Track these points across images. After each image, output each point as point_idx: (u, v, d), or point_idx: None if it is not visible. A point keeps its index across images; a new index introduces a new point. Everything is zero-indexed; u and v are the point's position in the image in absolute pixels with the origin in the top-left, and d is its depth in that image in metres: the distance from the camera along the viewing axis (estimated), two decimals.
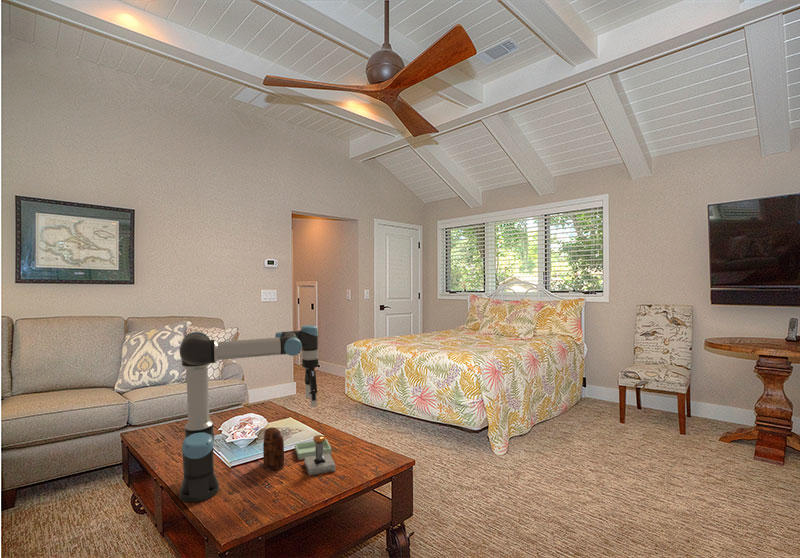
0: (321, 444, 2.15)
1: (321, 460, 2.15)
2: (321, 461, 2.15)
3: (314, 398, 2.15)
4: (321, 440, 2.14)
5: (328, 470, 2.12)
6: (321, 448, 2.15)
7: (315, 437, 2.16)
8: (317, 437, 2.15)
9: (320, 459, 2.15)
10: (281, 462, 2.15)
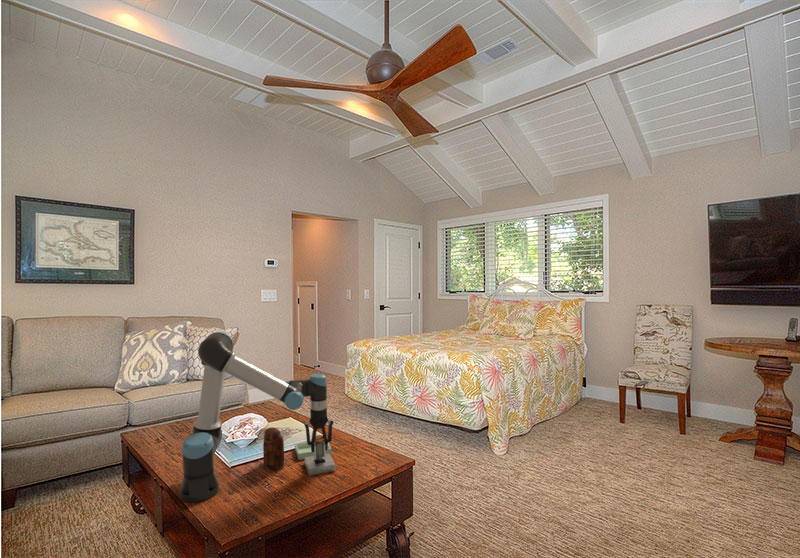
0: (321, 444, 2.15)
1: (321, 460, 2.15)
2: (321, 461, 2.15)
3: (311, 449, 2.15)
4: (321, 440, 2.14)
5: (328, 470, 2.12)
6: (321, 448, 2.15)
7: None
8: (317, 437, 2.15)
9: (320, 459, 2.15)
10: (281, 462, 2.15)
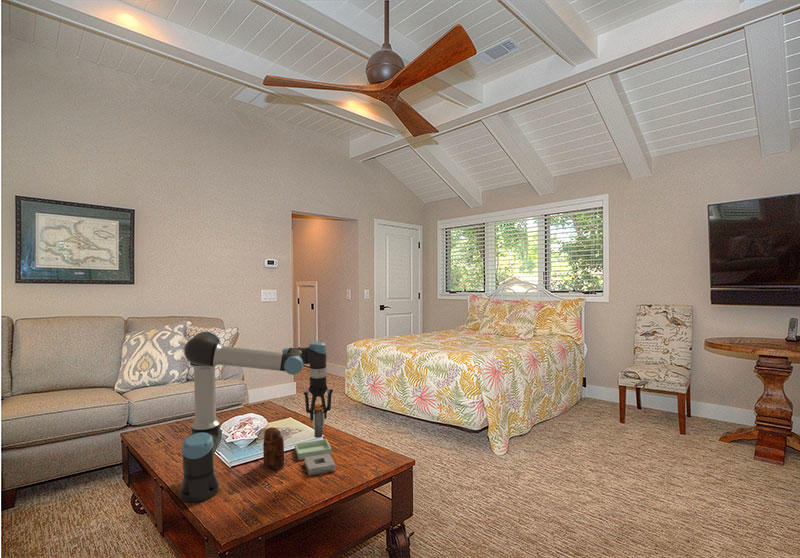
0: (320, 413, 2.14)
1: (320, 429, 2.14)
2: (320, 430, 2.14)
3: (310, 418, 2.13)
4: (320, 408, 2.13)
5: (328, 470, 2.12)
6: (320, 417, 2.14)
7: None
8: (316, 406, 2.14)
9: (319, 428, 2.14)
10: (281, 462, 2.15)
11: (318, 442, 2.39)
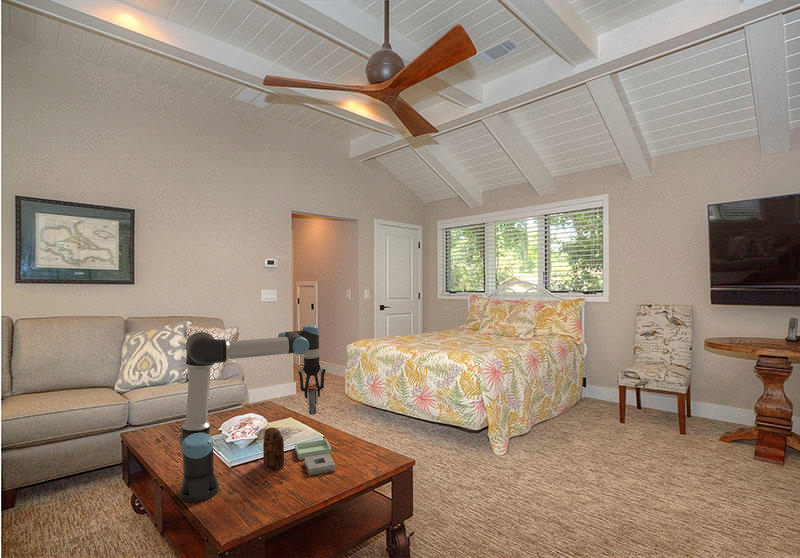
0: (314, 391, 2.29)
1: (314, 406, 2.29)
2: (314, 407, 2.29)
3: None
4: (314, 387, 2.27)
5: (328, 470, 2.12)
6: (314, 395, 2.29)
7: (308, 385, 2.30)
8: (310, 385, 2.29)
9: (313, 406, 2.29)
10: (281, 462, 2.15)
11: (318, 442, 2.39)
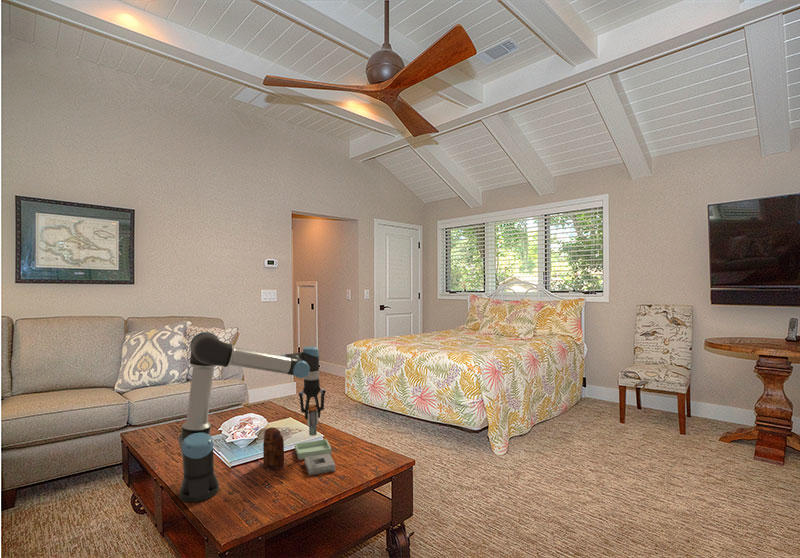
0: (314, 412, 2.30)
1: (314, 427, 2.30)
2: (314, 428, 2.30)
3: (305, 417, 2.30)
4: (314, 408, 2.29)
5: (328, 470, 2.12)
6: (314, 416, 2.30)
7: None
8: (310, 406, 2.31)
9: (313, 427, 2.30)
10: (281, 462, 2.15)
11: (318, 442, 2.39)
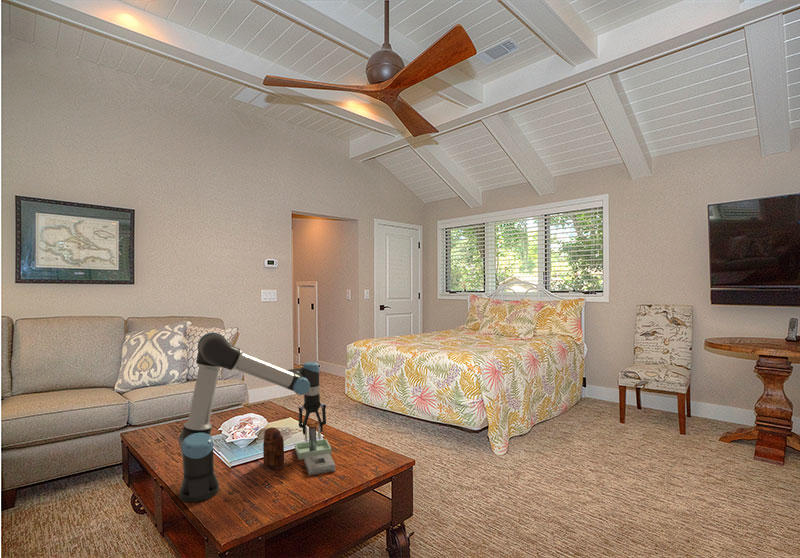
0: (314, 429, 2.31)
1: (314, 444, 2.31)
2: (314, 445, 2.31)
3: None
4: (314, 425, 2.29)
5: (328, 470, 2.12)
6: (314, 433, 2.31)
7: (308, 422, 2.32)
8: (310, 423, 2.31)
9: (313, 443, 2.31)
10: (281, 462, 2.15)
11: (318, 442, 2.39)
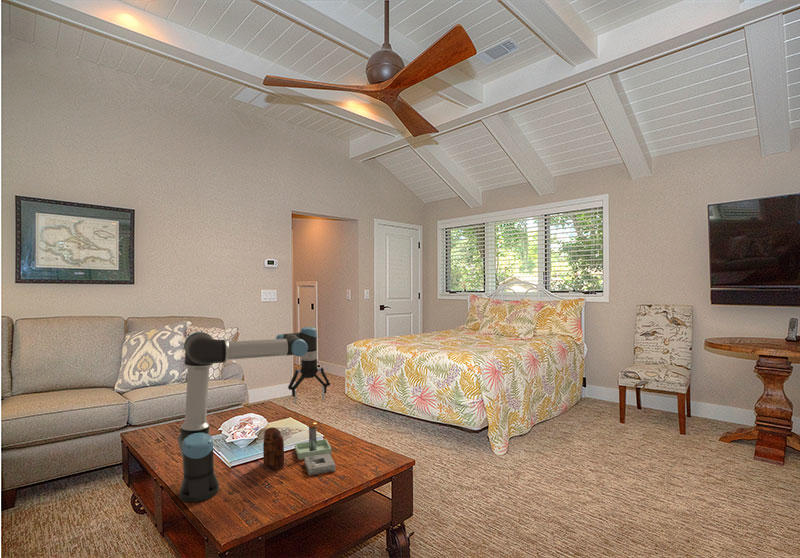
0: (314, 429, 2.31)
1: (314, 444, 2.31)
2: (314, 445, 2.31)
3: (292, 394, 2.28)
4: (314, 425, 2.29)
5: (328, 470, 2.12)
6: (314, 433, 2.31)
7: (308, 422, 2.32)
8: (310, 423, 2.31)
9: (313, 443, 2.31)
10: (281, 462, 2.15)
11: (318, 442, 2.39)
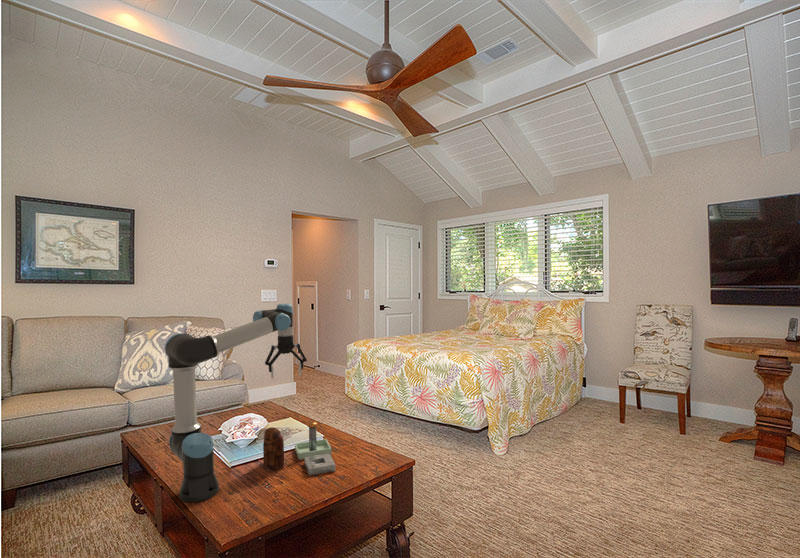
0: (314, 429, 2.31)
1: (314, 444, 2.31)
2: (314, 445, 2.31)
3: None
4: (314, 425, 2.29)
5: (328, 470, 2.12)
6: (314, 433, 2.31)
7: (308, 422, 2.32)
8: (310, 423, 2.31)
9: (313, 443, 2.31)
10: (281, 462, 2.15)
11: (318, 442, 2.39)
